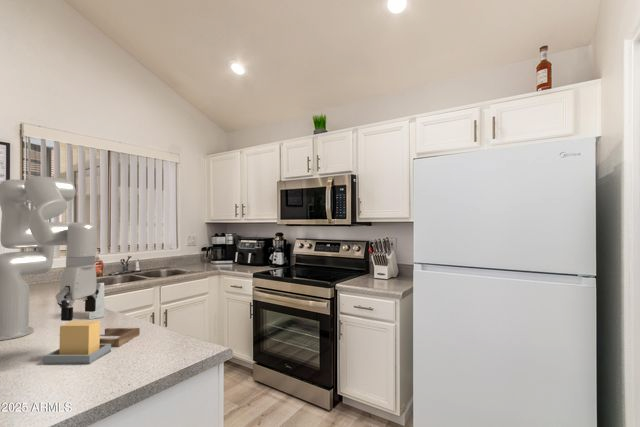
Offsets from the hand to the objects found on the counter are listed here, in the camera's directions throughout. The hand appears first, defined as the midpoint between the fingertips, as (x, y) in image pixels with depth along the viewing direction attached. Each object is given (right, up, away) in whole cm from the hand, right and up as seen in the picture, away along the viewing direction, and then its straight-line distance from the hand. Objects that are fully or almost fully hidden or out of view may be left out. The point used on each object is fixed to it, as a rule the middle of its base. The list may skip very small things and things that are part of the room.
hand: (79, 315), depth 102 cm
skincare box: (-26, -15, +45) cm, 55 cm away
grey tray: (+1, -13, -1) cm, 13 cm away
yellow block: (+1, -12, 0) cm, 12 cm away
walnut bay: (+1, -14, +14) cm, 20 cm away
